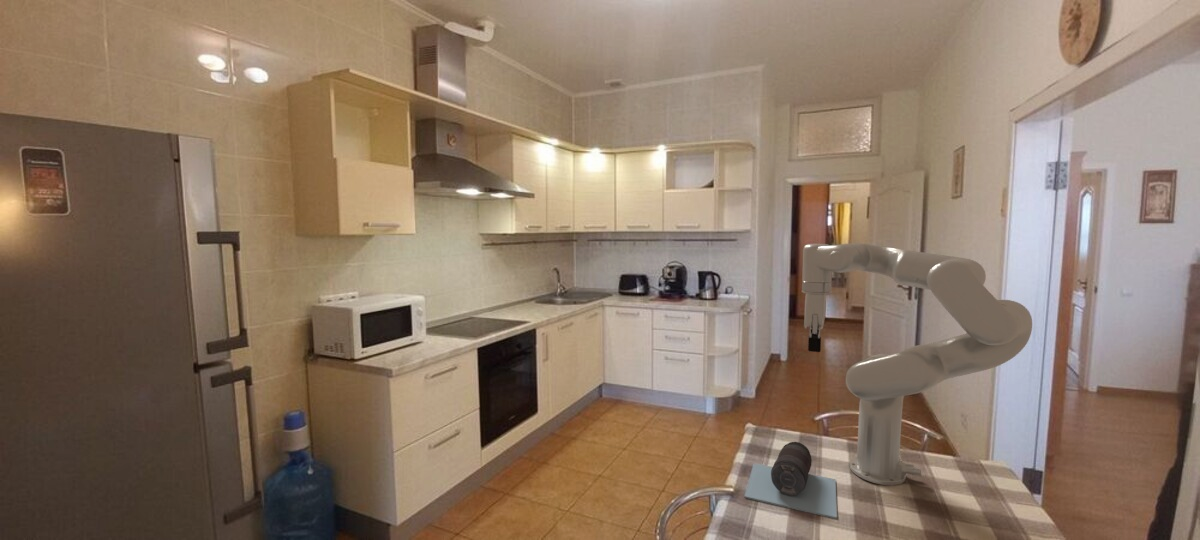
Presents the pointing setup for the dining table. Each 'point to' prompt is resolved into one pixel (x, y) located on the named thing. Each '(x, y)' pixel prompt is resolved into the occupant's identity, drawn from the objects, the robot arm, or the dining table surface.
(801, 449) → the camera lens
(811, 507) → the blue mat
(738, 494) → the dining table surface
